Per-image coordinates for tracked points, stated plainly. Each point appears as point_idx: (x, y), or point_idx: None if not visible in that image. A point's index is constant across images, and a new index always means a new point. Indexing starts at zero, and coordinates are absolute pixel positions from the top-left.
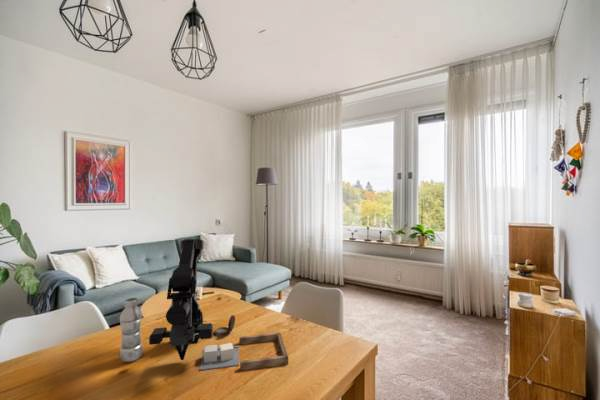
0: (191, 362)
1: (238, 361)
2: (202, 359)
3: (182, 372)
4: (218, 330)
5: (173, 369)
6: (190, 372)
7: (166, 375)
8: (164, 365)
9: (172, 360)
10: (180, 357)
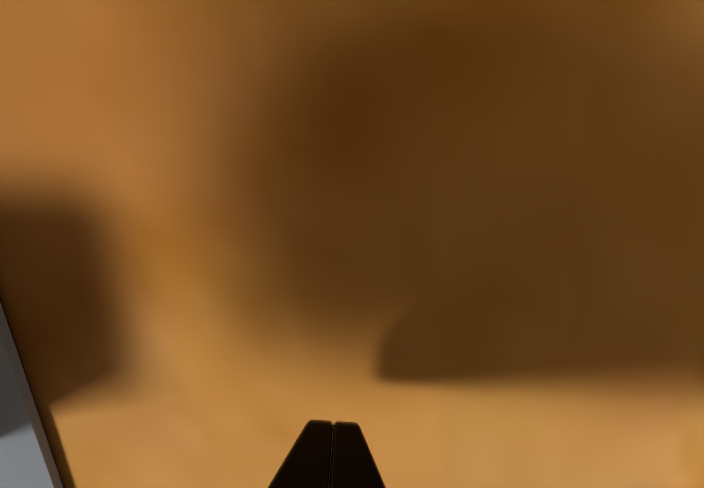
0: (187, 360)
1: None
2: (3, 379)
3: (293, 95)
4: None
5: (481, 251)
6: (111, 40)
7: (627, 80)
8: (623, 395)
9: (496, 472)
10: (366, 464)
